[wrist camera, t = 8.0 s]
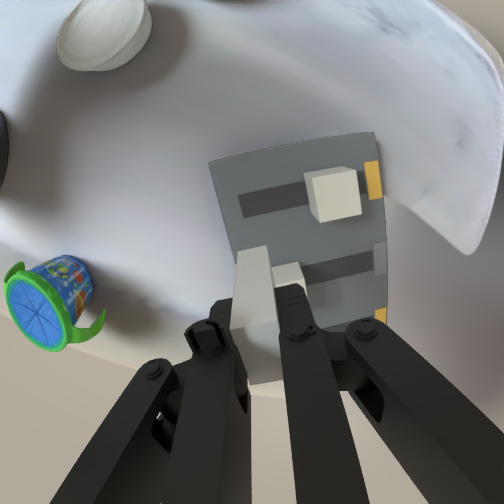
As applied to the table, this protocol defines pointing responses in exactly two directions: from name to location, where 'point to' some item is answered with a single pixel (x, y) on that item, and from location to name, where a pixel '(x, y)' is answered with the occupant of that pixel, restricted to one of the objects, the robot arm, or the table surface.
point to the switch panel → (312, 223)
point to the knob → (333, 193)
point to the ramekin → (103, 34)
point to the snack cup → (51, 302)
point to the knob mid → (288, 275)
